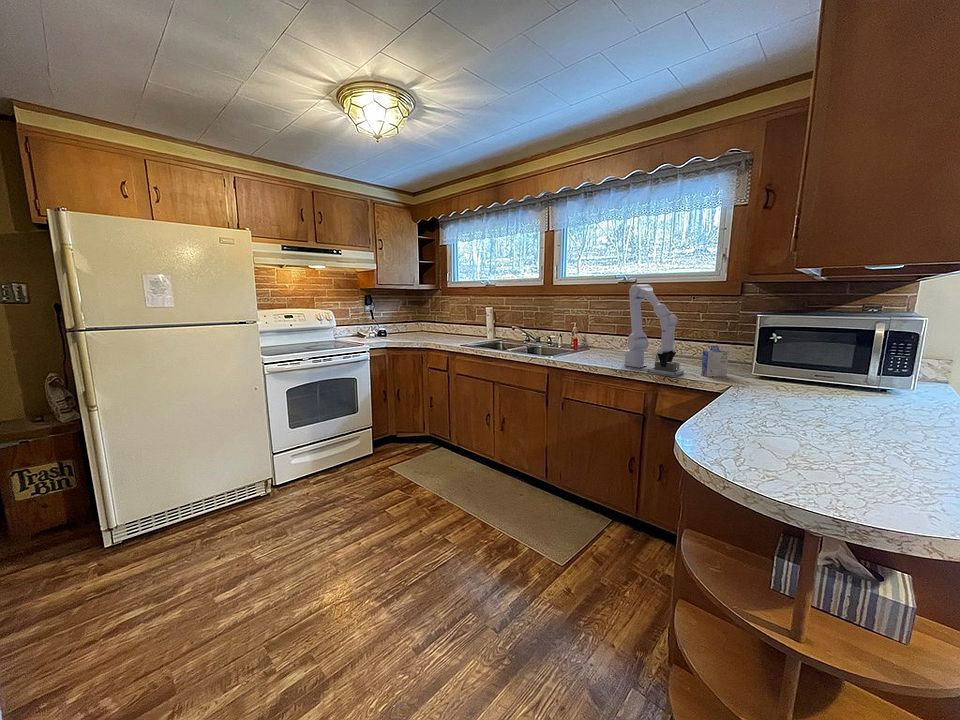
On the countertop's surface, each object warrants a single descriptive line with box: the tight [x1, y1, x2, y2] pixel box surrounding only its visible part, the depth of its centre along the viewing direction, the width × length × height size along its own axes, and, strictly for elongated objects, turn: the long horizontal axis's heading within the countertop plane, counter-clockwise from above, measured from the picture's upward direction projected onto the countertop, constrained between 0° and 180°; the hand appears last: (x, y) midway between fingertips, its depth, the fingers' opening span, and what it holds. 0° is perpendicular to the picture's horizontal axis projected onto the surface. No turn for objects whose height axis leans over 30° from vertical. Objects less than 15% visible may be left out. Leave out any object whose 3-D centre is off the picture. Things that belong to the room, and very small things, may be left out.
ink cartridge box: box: [700, 345, 729, 378], centre depth 187 cm, size 10×6×14 cm, turn 89°
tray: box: [646, 366, 685, 378], centre depth 194 cm, size 14×9×2 cm, turn 39°
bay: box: [655, 354, 681, 370], centre depth 205 cm, size 9×8×7 cm
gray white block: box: [653, 360, 677, 372], centre depth 194 cm, size 9×4×5 cm, turn 39°
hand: (665, 366), depth 194 cm, fingers open, 4 cm apart
